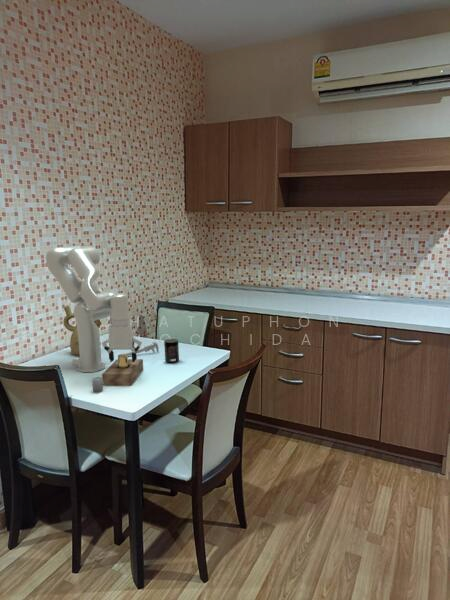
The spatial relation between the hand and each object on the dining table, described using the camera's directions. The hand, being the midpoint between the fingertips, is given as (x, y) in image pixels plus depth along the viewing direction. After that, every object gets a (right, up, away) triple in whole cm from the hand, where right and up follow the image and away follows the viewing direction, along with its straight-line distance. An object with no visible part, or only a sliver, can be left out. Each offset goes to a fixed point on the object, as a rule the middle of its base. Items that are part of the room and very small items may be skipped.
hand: (123, 361), depth 201 cm
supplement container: (+19, -3, +22) cm, 29 cm away
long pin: (0, -7, +1) cm, 7 cm away
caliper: (+1, -2, +34) cm, 34 cm away
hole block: (0, -7, +1) cm, 7 cm away
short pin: (-7, -10, -14) cm, 19 cm away
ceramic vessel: (-29, -1, +41) cm, 50 cm away
